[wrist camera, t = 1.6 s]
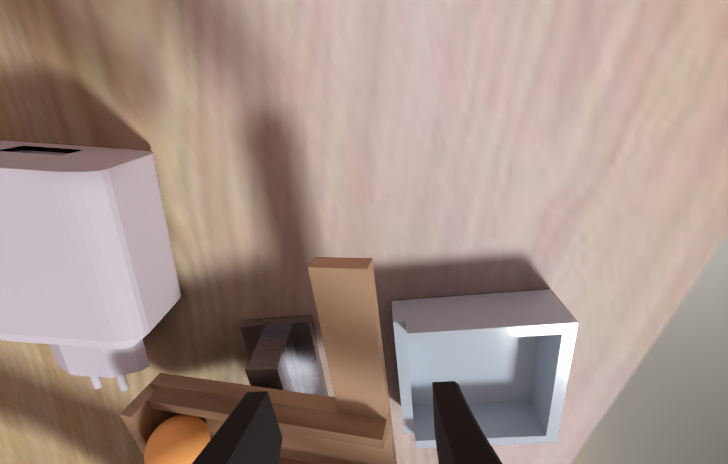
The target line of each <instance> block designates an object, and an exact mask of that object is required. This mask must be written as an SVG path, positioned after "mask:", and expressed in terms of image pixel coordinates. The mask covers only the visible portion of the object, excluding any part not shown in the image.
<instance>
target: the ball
mask: <svg viewBox="0 0 728 464" xmlns="http://www.w3.org/2000/svg"><path fill="white" fill-rule="evenodd" d="M209 441H210V432H209V429H208V427H207V425H206V423H205V422H204V421H203V420H202V419H200V418H199V417H197V416H192V415H186V414H181V415H176V416H173V417H171V418H169V419H167V420H166V421H164V422H163V423H161V424H160V425H159V426H158V427H157V428H156V429H155V430H154V432H153V433H152V434H151V436H150V438H149V439H148V442H147V444H146V447H145V452H144V464H192V463H193V461H194V460H195V459H196V458H197V456H198V455H199V454H200V453H201V451H202V450H203V449H204V448H205V446H206V445H207V444H208V443H209Z"/></svg>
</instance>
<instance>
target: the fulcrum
mask: <svg viewBox="0 0 728 464" xmlns="http://www.w3.org/2000/svg"><path fill="white" fill-rule="evenodd" d="M240 329H241V332H242V335H243V338H244V341H245V344H246V347H247V350H248V353H249V356H250V361H249V363H248V365H247V368H246V370H245V371H246V374H247V377H248V379H249V382H250V385H251V386H257V387H264V388H271V389H278V390H285V391H293V392H300V393H307V394H314V395H321V396H328V393H327V388H326V384H325V379H324V375H323V370H322V366H321V361H320V357H319V352H318V348H317V343H316V339H315V334H314V330H313V325H312V321H311V316H300V317H285V318H271V319H257V320H243V322H242V324H241V326H240Z"/></svg>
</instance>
